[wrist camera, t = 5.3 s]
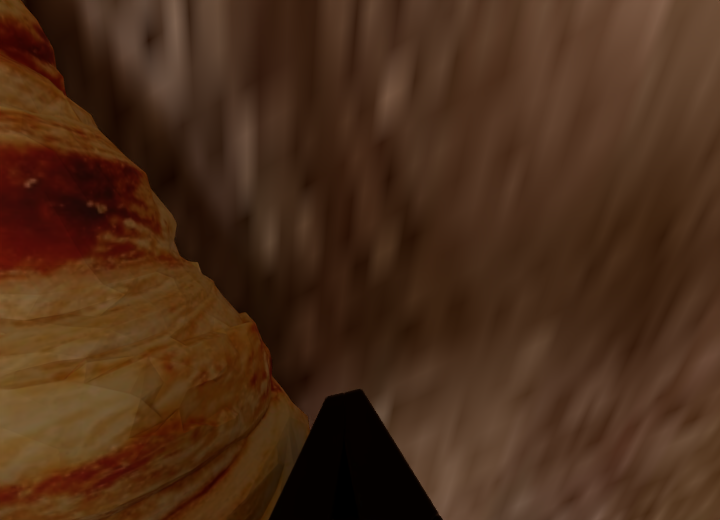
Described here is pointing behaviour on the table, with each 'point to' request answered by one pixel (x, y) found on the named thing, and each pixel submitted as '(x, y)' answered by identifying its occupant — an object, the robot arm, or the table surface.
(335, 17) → the table surface
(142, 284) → the croissant
